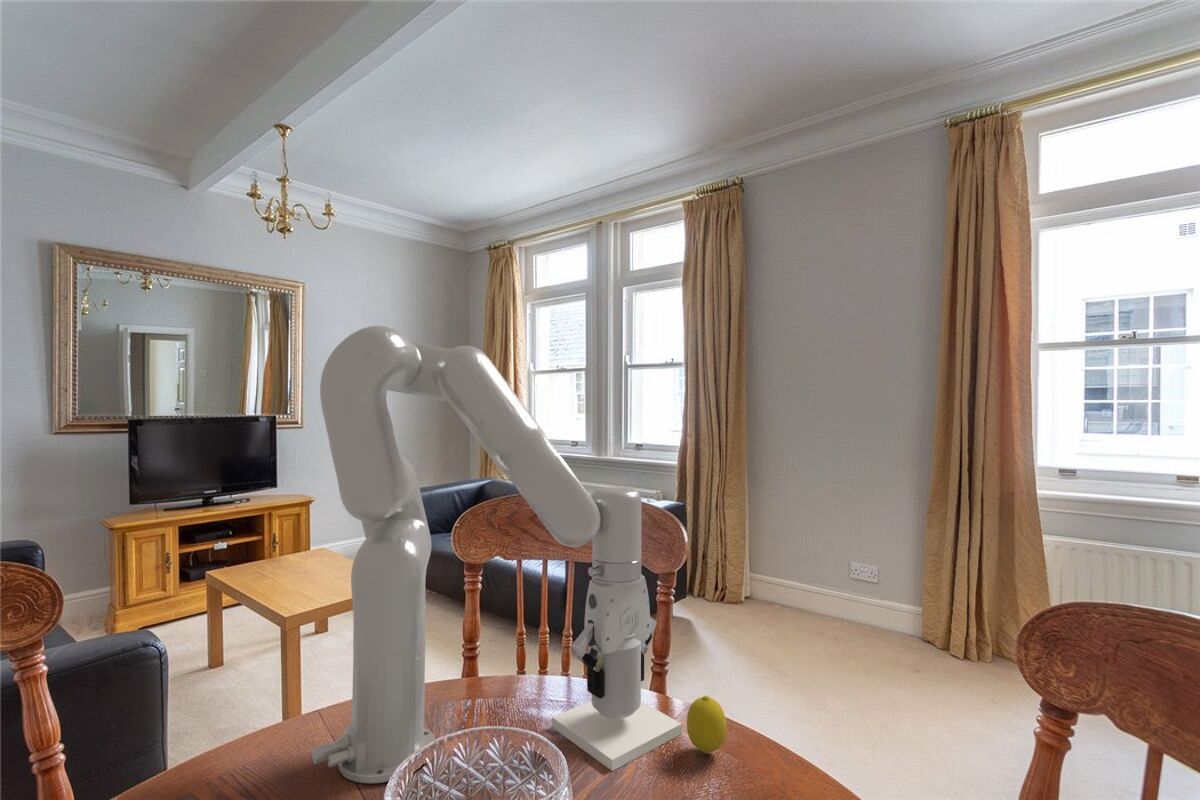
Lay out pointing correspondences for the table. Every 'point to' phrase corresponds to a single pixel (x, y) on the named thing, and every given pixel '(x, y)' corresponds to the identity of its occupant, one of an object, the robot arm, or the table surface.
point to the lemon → (706, 724)
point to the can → (621, 681)
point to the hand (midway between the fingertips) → (616, 685)
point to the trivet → (616, 732)
